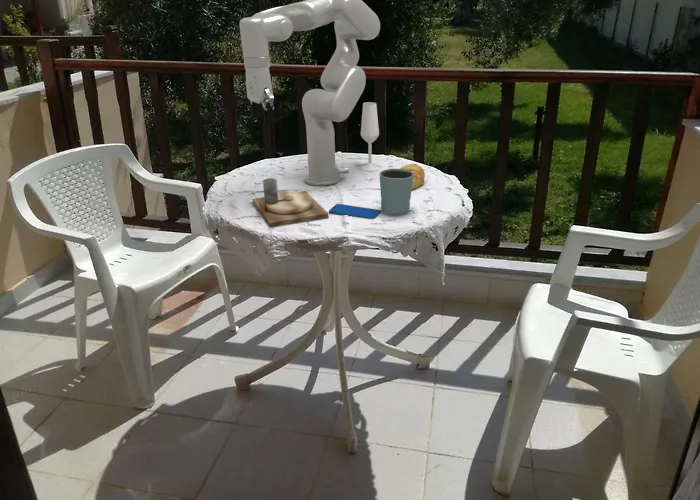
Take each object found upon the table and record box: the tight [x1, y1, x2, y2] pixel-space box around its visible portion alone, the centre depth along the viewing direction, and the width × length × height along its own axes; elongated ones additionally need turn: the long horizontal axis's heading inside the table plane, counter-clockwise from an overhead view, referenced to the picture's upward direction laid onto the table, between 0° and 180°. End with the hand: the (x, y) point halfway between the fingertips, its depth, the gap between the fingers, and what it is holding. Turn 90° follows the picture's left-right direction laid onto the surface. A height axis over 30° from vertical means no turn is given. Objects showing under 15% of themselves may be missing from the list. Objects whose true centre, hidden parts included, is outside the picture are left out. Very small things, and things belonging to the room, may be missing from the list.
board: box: [251, 190, 330, 228], centre depth 183 cm, size 18×22×4 cm
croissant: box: [399, 163, 426, 191], centre depth 204 cm, size 21×10×8 cm, turn 162°
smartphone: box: [328, 203, 382, 220], centre depth 181 cm, size 7×1×15 cm
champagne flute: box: [360, 101, 380, 172], centre depth 216 cm, size 7×7×24 cm
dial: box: [262, 178, 314, 214], centre depth 181 cm, size 15×15×9 cm
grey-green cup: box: [378, 168, 414, 217], centre depth 179 cm, size 10×10×12 cm
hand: (263, 119), depth 182 cm, fingers open, 9 cm apart
